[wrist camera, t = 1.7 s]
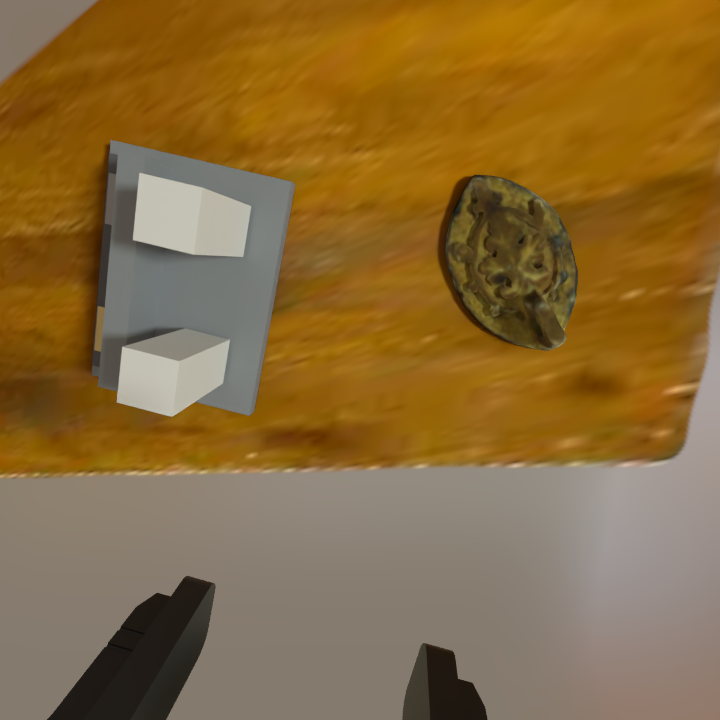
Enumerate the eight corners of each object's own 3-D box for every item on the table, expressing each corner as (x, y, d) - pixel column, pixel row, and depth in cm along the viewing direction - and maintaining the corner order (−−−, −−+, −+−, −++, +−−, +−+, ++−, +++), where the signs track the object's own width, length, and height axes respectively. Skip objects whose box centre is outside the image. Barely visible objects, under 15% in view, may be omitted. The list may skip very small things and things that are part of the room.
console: (295, 184, 35) (276, 170, 30) (254, 411, 39) (231, 432, 34) (120, 143, 35) (72, 123, 30) (100, 371, 40) (56, 387, 35)
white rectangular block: (251, 206, 34) (202, 187, 26) (243, 256, 35) (193, 254, 26) (203, 194, 34) (139, 172, 26) (196, 245, 35) (132, 239, 27)
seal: (415, 214, 35) (499, 368, 37) (410, 210, 31) (505, 385, 33) (522, 146, 33) (607, 316, 35) (534, 131, 28) (630, 327, 30)
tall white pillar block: (229, 339, 36) (179, 361, 28) (222, 383, 37) (172, 416, 29) (185, 328, 36) (122, 346, 28) (179, 372, 37) (116, 402, 29)
